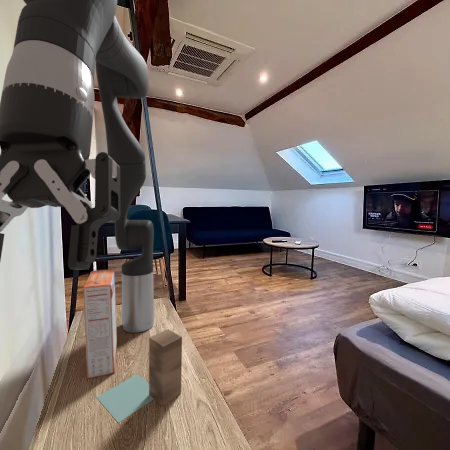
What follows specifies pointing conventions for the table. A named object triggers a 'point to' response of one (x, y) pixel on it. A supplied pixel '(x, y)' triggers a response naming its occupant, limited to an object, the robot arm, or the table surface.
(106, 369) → the cracker box
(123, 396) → the felt mat
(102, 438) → the table surface
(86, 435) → the table surface
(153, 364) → the walnut block
